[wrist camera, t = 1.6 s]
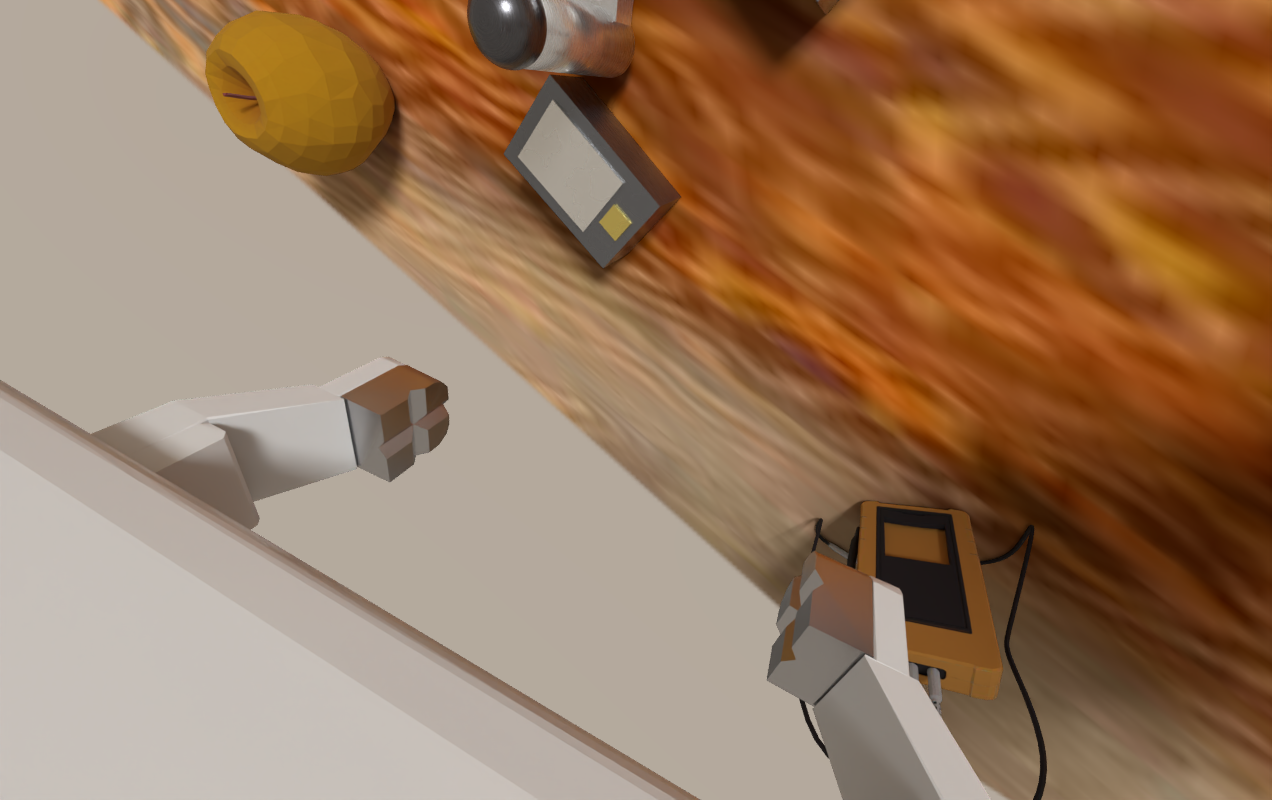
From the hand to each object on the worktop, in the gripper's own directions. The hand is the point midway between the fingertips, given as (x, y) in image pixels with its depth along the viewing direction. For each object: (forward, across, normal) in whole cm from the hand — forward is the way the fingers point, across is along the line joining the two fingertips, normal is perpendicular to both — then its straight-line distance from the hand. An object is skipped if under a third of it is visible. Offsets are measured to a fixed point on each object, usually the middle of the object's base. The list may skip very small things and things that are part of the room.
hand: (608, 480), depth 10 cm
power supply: (+27, +13, 0) cm, 30 cm away
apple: (+28, +34, 0) cm, 44 cm away
